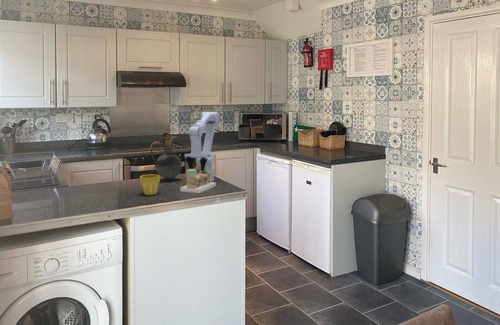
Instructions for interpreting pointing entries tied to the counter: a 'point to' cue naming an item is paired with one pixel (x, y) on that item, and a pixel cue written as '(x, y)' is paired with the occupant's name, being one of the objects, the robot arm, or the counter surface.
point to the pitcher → (167, 159)
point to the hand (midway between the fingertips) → (196, 170)
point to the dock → (199, 189)
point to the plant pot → (150, 183)
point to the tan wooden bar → (198, 180)
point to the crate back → (205, 168)
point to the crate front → (191, 173)
